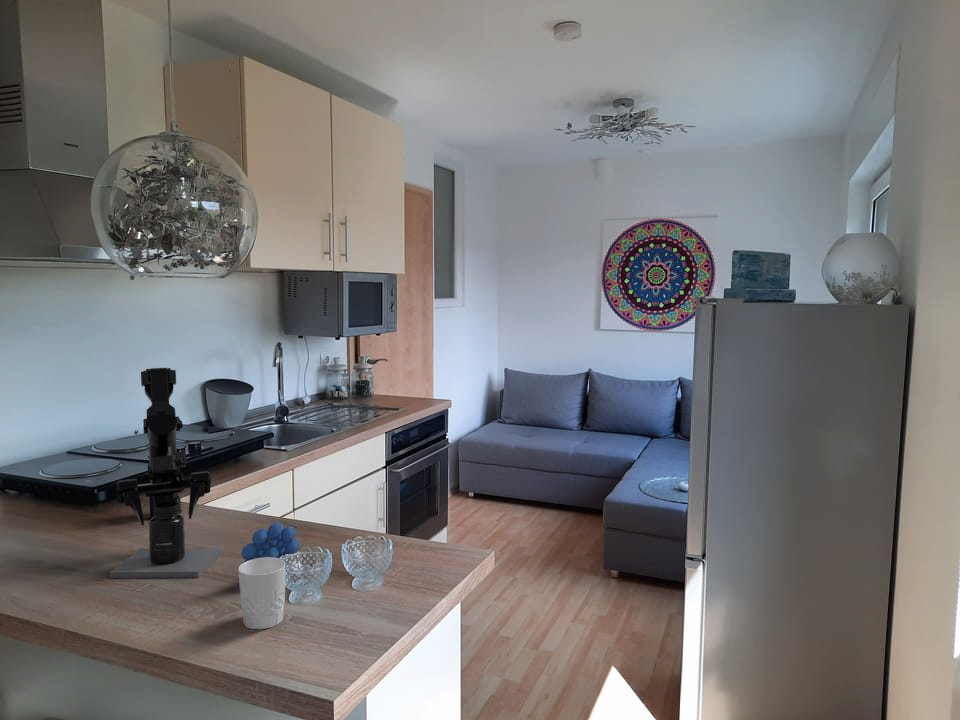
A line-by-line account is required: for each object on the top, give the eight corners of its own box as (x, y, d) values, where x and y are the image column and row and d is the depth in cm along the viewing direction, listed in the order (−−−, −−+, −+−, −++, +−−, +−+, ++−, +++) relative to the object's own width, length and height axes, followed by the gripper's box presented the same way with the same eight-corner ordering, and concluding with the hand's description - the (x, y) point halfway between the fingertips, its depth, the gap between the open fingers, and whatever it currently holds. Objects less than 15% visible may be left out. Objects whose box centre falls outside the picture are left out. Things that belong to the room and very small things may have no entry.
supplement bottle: (158, 568, 136) (156, 511, 135) (144, 560, 141) (141, 505, 140) (191, 558, 142) (189, 503, 141) (176, 550, 146) (174, 497, 145)
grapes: (294, 568, 139) (293, 512, 138) (303, 579, 134) (302, 522, 133) (236, 580, 133) (234, 522, 132) (243, 593, 128) (241, 532, 127)
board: (109, 577, 135) (109, 572, 135) (141, 553, 148) (141, 548, 147) (198, 577, 135) (198, 571, 135) (222, 553, 148) (222, 548, 148)
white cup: (293, 610, 120) (291, 557, 120) (278, 632, 113) (276, 575, 112) (250, 609, 121) (248, 556, 120) (232, 631, 113) (230, 574, 112)
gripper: (114, 444, 141) (114, 509, 132) (208, 436, 150) (214, 497, 141) (117, 471, 149) (118, 534, 140) (207, 462, 157) (212, 521, 149)
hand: (166, 521), depth 142 cm, fingers open, 9 cm apart
